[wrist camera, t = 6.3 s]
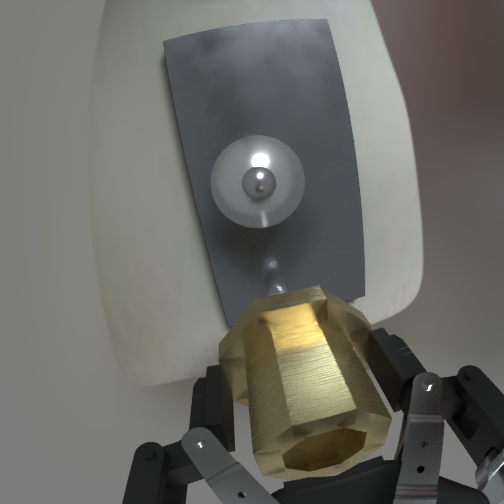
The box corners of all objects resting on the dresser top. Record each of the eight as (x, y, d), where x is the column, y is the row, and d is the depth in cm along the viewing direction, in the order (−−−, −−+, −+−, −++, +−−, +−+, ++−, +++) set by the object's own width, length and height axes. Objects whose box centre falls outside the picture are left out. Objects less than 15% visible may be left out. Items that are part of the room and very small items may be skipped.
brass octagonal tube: (207, 308, 13) (196, 418, 7) (361, 275, 13) (433, 358, 7) (241, 406, 15) (247, 497, 9) (359, 379, 15) (397, 460, 9)
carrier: (166, 46, 15) (147, 19, 11) (321, 24, 15) (347, -4, 11) (228, 318, 23) (228, 360, 18) (359, 288, 23) (386, 323, 18)
